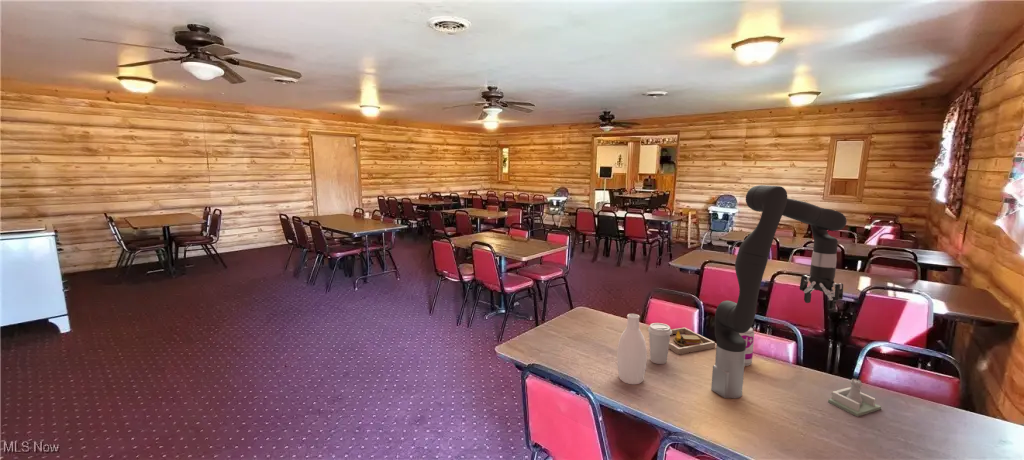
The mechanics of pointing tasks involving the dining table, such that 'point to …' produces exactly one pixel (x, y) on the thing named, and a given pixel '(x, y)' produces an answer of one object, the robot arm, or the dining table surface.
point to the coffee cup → (659, 342)
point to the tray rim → (693, 348)
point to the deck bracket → (853, 402)
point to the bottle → (632, 352)
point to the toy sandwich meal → (687, 340)
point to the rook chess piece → (855, 391)
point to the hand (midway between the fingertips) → (818, 306)
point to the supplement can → (748, 345)
